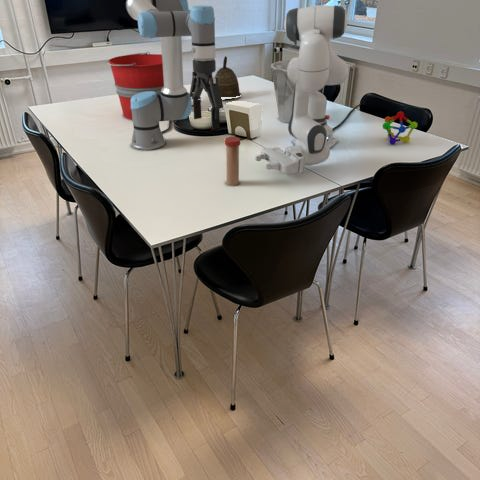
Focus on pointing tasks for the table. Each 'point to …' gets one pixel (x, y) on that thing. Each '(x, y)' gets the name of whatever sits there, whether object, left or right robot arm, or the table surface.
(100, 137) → the table surface
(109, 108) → the table surface
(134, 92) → the bucket
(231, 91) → the bell
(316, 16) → the right robot arm
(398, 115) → the educational toy
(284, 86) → the bucket
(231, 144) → the lid
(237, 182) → the jar
